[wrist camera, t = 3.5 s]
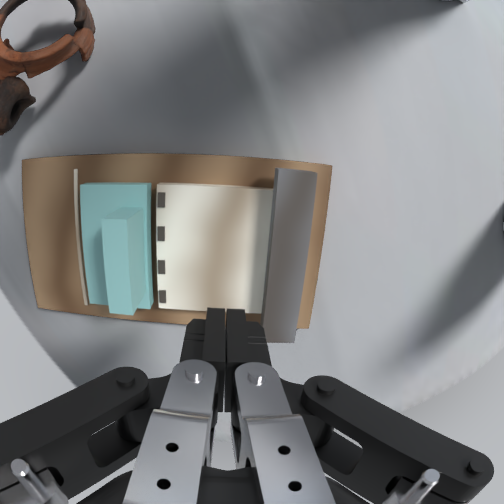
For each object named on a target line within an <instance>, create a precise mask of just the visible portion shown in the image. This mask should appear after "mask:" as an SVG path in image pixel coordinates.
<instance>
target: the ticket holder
mask: <svg viewBox="0 0 504 504" xmlns="http://www.w3.org/2000/svg"><path fill="white" fill-rule="evenodd" d="M331 174H332V166H331V165H325V164H317V163H308V162H299V161H289V160H279V159H267V158H255V157H241V156H224V155H202V154H161V153H134V154H94V155H74V156H58V157H45V158H34V159H25V160H22V190H23V208H24V221H25V231H26V240H27V248H28V255H29V262H30V269H31V275H32V280H33V286H34V291H35V296H36V301H37V305H38V308H44V309H50V310H57V311H64V312H71V313H78V314H86V315H93V316H102V317H110V318H119V319H129V320H139V321H150V322H162V323H174V324H188V323H189V322H190V321H191V320H192V319H206V314H207V307H211V308H225V326H226V310H227V308H230V309H245V316H246V321H253V322H258V323H259V324H260V325H261V326H262V327H263V328H264V331H265V336H266V341H267V342H268V343H294V341H295V335H296V329H297V328H302V329H309V324H310V319H311V313H312V307H313V302H314V296H315V290H316V284H317V278H318V272H319V265H320V259H321V252H322V245H323V238H324V231H325V224H326V216H327V208H328V200H329V192H330V183H331ZM103 182H125V183H151V254H152V281H153V300H154V302H153V304H152V306H151V309H141V308H137V309H136V311H135V313H134V315H124V314H114V313H110V312H109V305H101V304H92V303H90V301H89V295H88V287H87V280H86V271H85V262H84V252H83V240H82V226H81V205H80V185H81V184H84V183H103Z"/></svg>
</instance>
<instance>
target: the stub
mask: <svg viewBox="0 0 504 504" xmlns="http://www.w3.org/2000/svg"><path fill="white" fill-rule="evenodd" d="M80 205H81V226H82V240H83V252H84V262H85V271H86V280H87V287H88V295H89V301H90V303H92V304H101V305H109V312H110V313H114V314H124V315H134V313H135V311H136V309H137V308H141V309H151V306H152V304H153V302H154V300H153V281H152V254H151V183H125V182H103V183H84V184H81V185H80Z"/></svg>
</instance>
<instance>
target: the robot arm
mask: <svg viewBox="0 0 504 504" xmlns="http://www.w3.org/2000/svg"><path fill="white" fill-rule="evenodd" d="M442 1H451V0H442ZM460 1H462V2H464V3H465V2H467V1H469V0H460ZM223 397H224V398H225V412H231V437H232V443H233V450H234V457H235V463H236V470H230V471H225V470H221V469H216V468H212V467H211V460H212V451H213V444H214V435H215V425H216V423H217V415H218V412H223ZM114 421H115V422H114ZM112 422H114V423H112ZM111 423H112V424H111ZM109 424H110V425H109ZM107 425H109V426H107ZM106 426H107V427H106ZM104 427H105V428H104ZM102 428H104V429H102ZM334 428H335V429H337V430H339V431H340V432H342V433H343V434H345V435H347V436H349V437H350V438H352V439H353V440H355V441H357V442H358V443H359V444H360V445H361V446H362V448H363V449H362V448H360V447H359V446H357V445H355V444H354V443H352V442H350V441H349V440H347V439H345V438H344V437H342V436H340V435H339V434H337V433H336V432H334V431H333V430H334ZM100 429H102V430H100ZM99 430H100V431H99ZM97 431H98V432H97ZM95 432H97V433H95ZM94 433H95V434H94ZM92 434H93V435H92ZM136 457H137V459H136V462H135V465H134V468H133V470H132V471H129V472H126V473H124V474H122V475H120V476H118V477H116V478H114V479H113V480H111V481H110V482H108V483H107V484H105V485H104V486H102V487H101V488H99V489H98V490H97V491H95V492H94V493H92V494H90V495H89V496H88V497H86V498H84V499H83V500H81V501H80V502H78V503H77V504H370V503H368V502H366V501H365V500H363V499H362V498H360V497H359V496H357V495H356V494H354V493H352V492H351V491H350V490H348V489H347V488H349V489H351V490H352V491H354V492H355V493H357V494H359V495H360V496H362V497H364V498H365V499H367V500H369V501H371V502H372V503H374V504H467V503H469V502H470V501H471V500H472V499H473V498H474V497H475V496H476V495H477V494H478V493H479V492H480V491H481V490H482V489H483V488H484V487H485V486H486V485H487V484H488V483H489V482H490V480H491V479H492V477H493V474H494V467H493V464H492V462H491V460H490V459H489V458H488V457H487V456H486V455H484V454H482V453H481V452H478V451H476V450H474V449H472V448H469V447H467V446H465V445H463V444H461V443H459V442H456V441H454V440H452V439H450V438H448V437H446V436H444V435H442V434H440V433H438V432H436V431H433V430H431V429H429V428H427V427H425V426H423V425H421V424H419V423H417V422H415V421H414V420H412V419H410V418H408V417H405V416H404V415H402V414H400V413H398V412H396V411H394V410H392V409H390V408H389V407H387V406H385V405H383V404H381V403H379V402H377V401H375V400H374V399H372V398H370V397H368V396H366V395H365V394H363V393H361V392H359V391H357V390H355V389H354V388H352V387H350V386H348V385H347V384H345V383H343V382H341V381H340V380H338V379H336V378H333V377H330V376H314V377H311V378H309V379H308V380H307V381H306V382H305V384H304V385H301V384H296V383H291V382H288V381H285V380H283V379H281V378H280V377H279V375H278V373H277V371H276V370H275V369H274V368H273V367H272V365H271V360H270V356H269V351H268V346H267V341H266V336H265V331H264V328H263V327H262V326H261V325H260V324H259V323H258V322H253V321H246V316H245V309H230V308H227V310H226V326H225V308H211V307H207V314H206V319H192V320H191V321H190V322H189V323H188V324H187V327H186V332H185V337H184V342H183V347H182V352H181V358H180V363H178V364H177V365H176V366H175V367H174V368H173V371H172V373H171V374H169V375H167V376H164V377H159V378H151V379H148V377H147V375H146V374H145V373H144V372H143V371H141V370H140V369H137V368H134V367H120V368H116V369H114V370H112V371H110V372H108V373H106V374H104V375H102V376H100V377H98V378H96V379H94V380H92V381H90V382H88V383H85V384H83V385H81V386H79V387H77V388H75V389H73V390H71V391H69V392H67V393H65V394H63V395H61V396H59V397H57V398H54V399H52V400H50V401H48V402H46V403H44V404H42V405H40V406H37V407H35V408H33V409H31V410H29V411H27V412H24V413H22V414H20V415H18V416H16V417H13V418H11V419H9V420H7V421H5V422H2V423H0V504H68V500H69V499H70V498H72V497H74V496H76V495H77V494H79V493H81V492H83V491H84V490H86V489H87V488H89V487H91V486H92V485H94V484H96V483H97V482H99V481H101V480H102V479H104V478H105V477H107V476H109V475H110V474H112V473H113V472H115V471H116V470H118V469H119V468H121V467H122V466H124V465H125V464H127V463H129V462H130V461H132V460H133V459H135V458H136ZM324 473H326V474H328V475H329V476H331V477H332V478H333V479H335V480H337V481H338V482H340V483H341V484H343V485H344V486H346V487H347V488H345V487H344V486H342V485H341V484H339V483H338V482H336V481H334V480H332V479H331V478H328V477H326V476H325V475H324Z"/></svg>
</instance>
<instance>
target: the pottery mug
mask: <svg viewBox="0 0 504 504" xmlns="http://www.w3.org/2000/svg"><path fill="white" fill-rule="evenodd" d="M25 1H27V0H8V1H7V2H6V3H5V4H4V6H3V7H2V8H1V9H0V135H3V134H4V133H6V132H7V131H9V130H11V129H12V128H13V127H14V125H15V124H16V122H17V121H18V119H19V117H20V115H21V114H22V112H23V111H24V110H25V109H26V108H27V107H29V106H30V105H32V104H33V103H35V102H36V99H35V97H33V96H31V95H30V92H29V87H28V86H27V84H26V83H25V82H24V81H23V80H22V79H21V78H19V77H16V76H17V75H18V74H19V73H22V72H26V74H27V76H28V78H32V77H34V76H37V75H39V74H41V73H43V72H45V71H48V70H50V69H52V68H53V67H54V66H56V65H58V64H60V63H62V62H63V61H65V60H67V59H68V58H70V57H71V56H72V55H73V54H75V53H76V52H77V51H78V50H79V51H80V53H81V56H82V61H88V59H89V57H90V55H91V53H92V51H93V48H94V41H95V39H94V36H93V34H94V33H95V25H94V20H93V18H92V14H91V12H90V10H89V8H88V6H87V5H86V1H85V0H68V1H70V3H71V4H72V5H73V7H74V9H75V14H76V15H75V21H74V25H75V26H76V27H77V30H76V32H75V33H74V35H73V36H71V35H69V34H65V35H64V36H63V37H62V38H60V39H59V40H58V41H56V42H55V43H53V44H52V45H50V46H48V47H45V48H42V49H40V50H35V51H30V52H23V53H21V52H17V51H14V49H13V48H12V46H11V45H10V44H9V39H5V40H4V42H3V41H2V39H1V28H2V26H3V24H4V22H5V20H6V18H7V16H8V15H9V14H10V13H11V12H12V11H14V10H15V9H16V8H17V7H18V6H19V5H21V4H22V3H24V2H25Z"/></svg>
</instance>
